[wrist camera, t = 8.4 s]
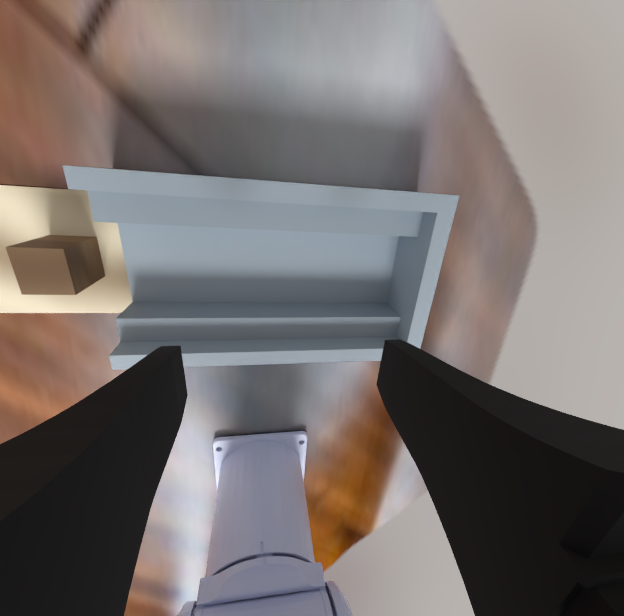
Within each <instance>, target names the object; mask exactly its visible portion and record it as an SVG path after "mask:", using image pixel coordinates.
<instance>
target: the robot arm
mask: <svg viewBox="0 0 624 616" xmlns="http://www.w3.org/2000/svg"><path fill="white" fill-rule="evenodd" d="M377 387H378V390H379V392H380V395H381V398H382V400H383V403H384V406H385V408H386V410H387V412H388V414H389V416H390V418H391V419H392V421H393V423H394V425H395V427H396V429H397V430H398V432H399V434H400V436H401V438H402V440H403V441H404V443H405V445H406V447H407V449H408V450H409V452H410V454H411V456H412V458H413V460H414V461H415V463H416V465H417V467H418V469H419V471H420V473H421V475H422V477H423V480H424V482H425V484H426V487H427V489H428V491H429V494H430V496H431V498H432V501H433V503H434V505H435V508H436V510H437V513H438V515H439V518H440V520H441V523H442V525H443V528H444V530H445V533H446V535H447V538H448V541H449V543H450V546H451V548H452V551H453V554H454V557H455V559H456V562H457V565H458V568H459V570H460V573H461V576H462V578H463V581H464V584H465V587H466V590H467V593H468V596H469V599H470V602H471V605H472V608H473V611H474V614H475V616H624V430H622V429H617V428H614V427H610V426H607V425H603V424H600V423H596V422H593V421H589V420H585V419H582V418H579V417H576V416H572V415H569V414H566V413H562V412H560V411H557V410H554V409H551V408H548V407H545V406H542V405H539V404H536V403H533V402H531V401H528V400H525V399H523V398H520V397H518V396H515V395H513V394H510V393H508V392H506V391H503V390H501V389H498V388H496V387H494V386H492V385H489V384H487V383H485V382H483V381H481V380H479V379H476V378H474V377H472V376H470V375H468V374H466V373H464V372H462V371H460V370H458V369H456V368H454V367H453V366H451V365H449V364H447V363H445V362H443V361H441V360H439V359H438V358H436V357H434V356H432V355H430V354H429V353H427V352H425V351H423V350H421V349H419V348H417V347H416V346H414V345H412V344H410V343H408V342H405V341H403V340H401V339H395V340H385V342H384V347H383V353H382V358H381V363H380V369H379V374H378V380H377ZM186 399H187V389H186V381H185V374H184V367H183V359H182V352H181V346H160V347H159V348H157V349H156V350H154V351H153V352H151V353H150V354H148V355H147V356H146V357H144V358H143V359H141V360H140V361H139V362H137V363H136V364H134V365H133V366H132V367H130V368H129V369H127V370H126V371H125V372H123V373H122V374H120V375H119V376H118V377H116V378H115V379H113V380H112V381H110V382H109V383H107V384H106V385H104V386H103V387H101V388H100V389H98V390H96V391H95V392H93V393H92V394H90V395H89V396H87V397H86V398H84V399H83V400H81V401H80V402H78V403H76V404H75V405H73V406H71V407H70V408H68V409H66V410H65V411H63V412H61V413H59V414H58V415H56V416H54V417H52V418H50V419H49V420H47V421H45V422H43V423H41V424H40V425H38V426H36V427H34V428H32V429H30V430H28V431H27V432H25V433H23V434H21V435H19V436H16V437H14V438H12V439H10V440H8V441H6V442H4V443H2V444H0V616H124V612H125V608H126V603H127V599H128V594H129V590H130V586H131V582H132V578H133V574H134V570H135V566H136V562H137V558H138V554H139V550H140V546H141V542H142V538H143V535H144V531H145V527H146V523H147V520H148V516H149V512H150V508H151V505H152V502H153V499H154V496H155V493H156V490H157V487H158V484H159V482H160V479H161V476H162V474H163V471H164V468H165V466H166V463H167V460H168V458H169V455H170V452H171V449H172V447H173V444H174V441H175V438H176V436H177V433H178V430H179V427H180V425H181V421H182V417H183V413H184V408H185V404H186ZM307 438H308V437H307V433H306V432H305V431H294V432H281V433H268V434H255V435H241V436H228V437H218V438H215V439H214V440H213V455H214V466H215V477H216V488H217V496H216V503H215V510H214V518H213V525H212V532H211V539H210V547H209V554H208V561H207V569H206V576H205V577H204V578H201V579H200V585H199V591H198V598H197V601H188V602H186V603H185V604H184V606H183V608H182V610H181V611H180V612H179V613H178V615H177V616H352V612H351V609H350V606H349V603H348V601H347V599H346V597H345V595H344V594H343V593H342V592H341V591H340V589H339V588H338V586H337V585H336V584H335V582H333V581H328V582H325V580H324V574H323V567H322V563H315V559H314V552H313V545H312V538H311V531H310V524H309V517H308V510H307V503H306V496H305V489H304V472H305V460H306V449H307ZM301 440H303V441H301ZM218 447H221V448H218Z"/></svg>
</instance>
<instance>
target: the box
mask: <svg viewBox="0 0 624 616" xmlns="http://www.w3.org/2000/svg"><path fill="white" fill-rule="evenodd" d="M62 166H63V170H64V174H65V178H66V182H67V186H68V189H72V190H87V193H88V198H89V202H90V207H91V211H92V216H93V220H94V222H110V223H118V228H119V234H120V239H121V244H122V249H123V255H124V260H125V265H126V270H127V276H128V281H129V286H130V291H131V297H132V303H131V304H130V305H129V306H128V307H127V308H126V309H125V310H124V311H123V312H122V313H121V314H120V315H119V316H118V317H117V318H116V319H115V320H116V324H117V329H118V333H119V338H120V343H119V345H118V346H117V347H116V348H115V349H114V350H113V352H112V353H111V354H110V355H109V357H110V362H111V366H112V370H120V369H129V368H130V367H132V366H133V365H134V364H136V363H137V362H139V361H140V360H141V359H143V358H144V357H146V356H147V355H148V354H150V353H151V352H153V351H154V350H156V349H157V348H159V347H160V346H181V352H182V359H183V367H208V366H238V365H267V364H297V363H326V362H356V361H381V358H382V353H383V347H384V342H385V340H395V339H401V340H403V341H405V342H408V343H410V344H412V345H414V346H416V347H417V348H419V349H420V347H421V343H422V339H423V335H424V332H425V328H426V324H427V320H428V316H429V312H430V308H431V304H432V300H433V296H434V293H435V289H436V285H437V281H438V277H439V273H440V269H441V265H442V261H443V257H444V254H445V250H446V246H447V242H448V238H449V234H450V230H451V226H452V222H453V218H454V214H455V211H456V207H457V203H458V199H459V196H458V195H447V194H435V193H424V192H412V191H399V190H386V189H373V188H360V187H347V186H334V185H321V184H308V183H295V182H282V181H269V180H256V179H243V178H230V177H217V176H203V175H190V174H177V173H164V172H151V171H138V170H125V169H112V168H97V167H81V166H65V165H62Z"/></svg>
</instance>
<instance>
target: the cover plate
mask: <svg viewBox="0 0 624 616" xmlns="http://www.w3.org/2000/svg"><path fill="white" fill-rule="evenodd" d="M131 303H132V297H131V291H130V286H129V281H128V276H127V270H126V265H125V260H124V255H123V249H122V244H121V239H120V234H119V228H118V223H110V222H94V220H93V216H92V211H91V207H90V202H89V198H88V193H87V191H83V190H68V189H53V188H38V187H23V186H8V185H0V313H122V312H123V311H124V310H125V309H126V308H127V307H128V306H129V305H130V304H131Z"/></svg>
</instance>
